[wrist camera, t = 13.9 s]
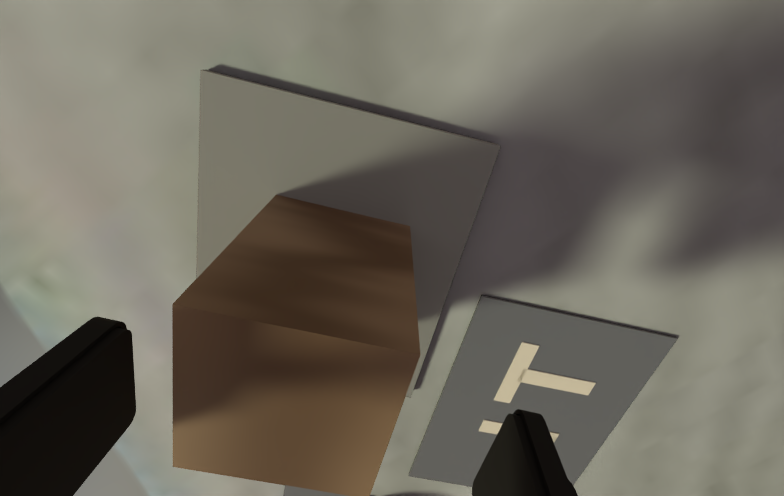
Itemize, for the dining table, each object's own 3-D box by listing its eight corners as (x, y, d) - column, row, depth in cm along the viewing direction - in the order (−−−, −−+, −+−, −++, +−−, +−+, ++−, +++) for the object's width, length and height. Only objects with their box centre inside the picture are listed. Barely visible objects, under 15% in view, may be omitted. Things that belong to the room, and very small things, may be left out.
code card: (675, 337, 17) (678, 339, 17) (560, 499, 22) (561, 502, 22) (481, 295, 16) (482, 297, 16) (408, 474, 21) (408, 477, 21)
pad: (497, 144, 13) (501, 146, 13) (410, 391, 18) (410, 397, 18) (206, 69, 12) (200, 70, 12) (198, 351, 17) (194, 357, 17)
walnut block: (410, 226, 14) (420, 354, 8) (379, 331, 16) (368, 498, 10) (276, 194, 14) (172, 304, 7) (262, 306, 16) (173, 466, 9)
